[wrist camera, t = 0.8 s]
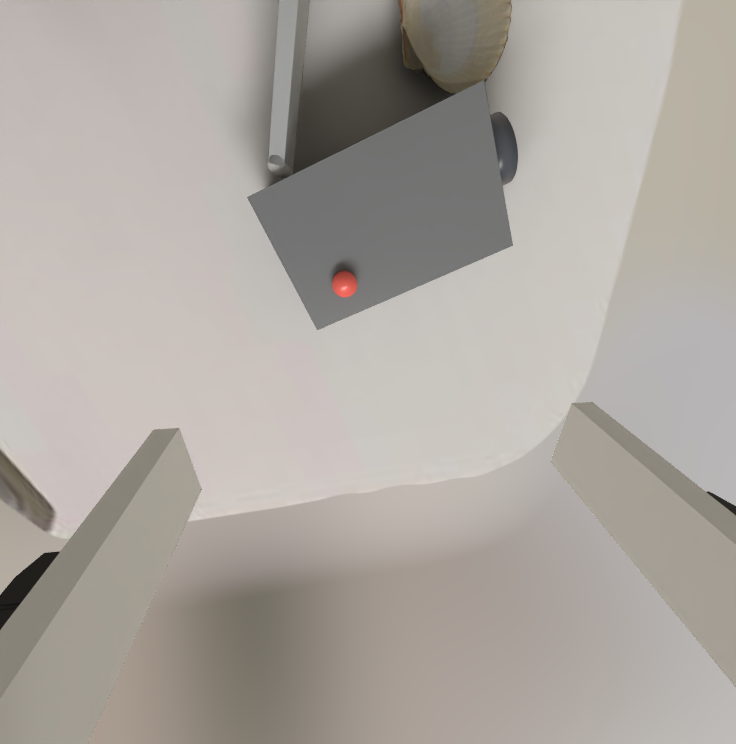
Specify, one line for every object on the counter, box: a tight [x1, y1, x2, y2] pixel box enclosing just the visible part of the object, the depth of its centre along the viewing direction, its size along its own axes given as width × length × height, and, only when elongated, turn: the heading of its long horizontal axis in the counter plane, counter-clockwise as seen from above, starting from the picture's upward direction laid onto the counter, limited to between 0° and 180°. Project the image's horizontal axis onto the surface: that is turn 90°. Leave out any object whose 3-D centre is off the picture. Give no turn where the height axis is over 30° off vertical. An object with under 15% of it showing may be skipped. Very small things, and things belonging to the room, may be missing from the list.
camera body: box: [247, 80, 518, 330], centre depth 25 cm, size 10×18×8 cm, turn 112°
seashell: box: [398, 0, 512, 94], centre depth 22 cm, size 8×3×8 cm
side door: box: [267, 0, 310, 179], centre depth 21 cm, size 2×10×5 cm, turn 167°
